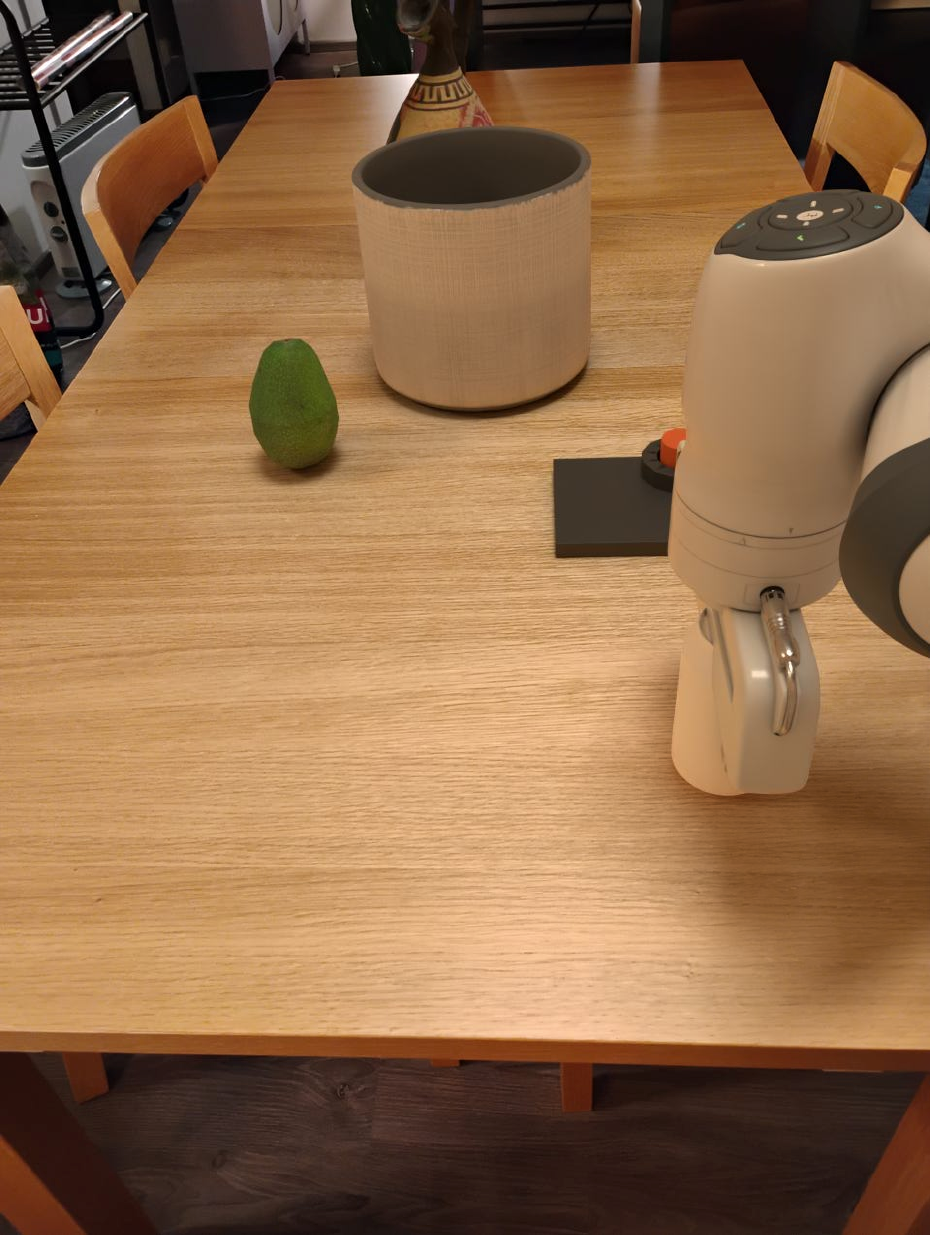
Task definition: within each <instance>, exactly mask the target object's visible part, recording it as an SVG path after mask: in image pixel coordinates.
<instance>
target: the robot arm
mask: <svg viewBox="0 0 930 1235" xmlns="http://www.w3.org/2000/svg"><path fill="white" fill-rule="evenodd" d="M680 402H681V404H680V405H681V412H682V416H683V420H684V424H685V429H686V440H682V441H680V442H679V444H678V449H677V459H676V468H675V473H674V485H673V494H672V506H671V518H670V529H669V540H668V555H667V557H668V561H669V565H670V566H671V569H672V571H673V572H674V573H675V575H676V577H677V578H678V579H679V580H680V582H682V584H684V585H685V586H686V587H687V588H688V589H690V590H691V591H692V592H694V595H695V600H696V606H697V612H698V615H699V614H700V612H701V611H702V610H703V609H704V608H705V607H706V615H707V620H708V625H709V631H710V636H711V641H712V644H713V647H714V648H713V656H712V689H713V695H714V701H715V706H716V712H717V717H718V723H719V728H720V734H721V739H722V747H721V754H722V761H723V766H724V770H725V772H726V773H728V779H729V782H730V785H731V786H732V788H734V789H735V790H737V791H741V792H746V793H745V794H760V795H775V794H776V795H777V794H778V795H781V794H792V793H796V792H798V791H801V790H802V789H803V788H805V786H806V784H807V782H808V779H809V775H810V771H811V765H812V761H813V754H814V749H815V744H816V738H817V731H818V725H819V719H820V718H819V717H820V709H821V679H820V672H819V667H818V663H817V659H816V655H815V652H814V649H813V646H812V642H811V639H810V635H809V632H808V629H807V625H806V622H805V618H804V615H803V612H802V608H804V607H806V606H809V605H812V604H814V603H816V602H818V601H820V600H821V599H823V598H824V597H826V596H827V595H829V594H830V593H831V592H832V591H834V589H835V588H836V587H837V586H838V584H839V583H840V582H841V579H842V583H843V585H844V587H845V590H846V591H847V593H848V595H849V597H850V598H851V600H852V601H853V603H854V604H855V605H856V607H857V608H858V609H859V610H860V612H861V613H862V614H863V615H864V616H865V617H866V618H868V620H869V621H870V622H872V623H873V625H875V626H876V627H878V628H879V629H880V630H881V631H882V632H884V634H886V635H887V636H888V637H890V638H892V639H893V640H894V641H895V642H897V643H899V644H900V645H901V646H903V647H905V648H907V649H908V650H910V651H912V652H914V653H916V654H919V655H920V656H922V657H925V658H928V659H930V232H929V231H928V230H927V229H926V228H924V227H923V226H922V225H921V224H920V223H919V221H917V219H916V218H915V217H914V216H913V214H912V213H911V212H910V211H909V209H907V207H906V206H904V205H903V203H901V202H900V201H898V200H896V199H895V198H892V197H889V196H887V195H884V194H880V193H874V192H867V191H860V190H859V189H847V188H846V189H843V188H841V189H840V188H839V189H823V190H815V191H810V192H805V193H800V194H799V193H798V194H794V195H789V196H786V197H783V198H780V199H777V200H776V201H774V202H772V203H768V204H766V205H763V206H761V207H758V208H756V209H754V210H752V211H750V212H748V213H747V214H745V215H744V216H743V217H742V218H740V219H739V220H738V221H736V222H735V223H734V224H733V225H732V226H730V228H729V229H727V231H726V232H725V233H723V235H721V237H720V238H719V239H718V240H717V242H716V243H715V245H714V246H713V248H712V249H711V251H710V253H709V255H708V256H707V259H706V261H705V264H704V266H703V269H702V273H701V276H700V278H699V282H698V286H697V290H696V294H695V298H694V303H693V307H692V313H691V318H690V323H689V329H688V336H687V343H686V349H685V357H684V368H683V374H682V386H681V398H680Z"/></svg>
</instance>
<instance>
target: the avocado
mask: <svg viewBox="0 0 930 1235" xmlns="http://www.w3.org/2000/svg"><path fill="white" fill-rule="evenodd" d="M250 389H251V390H250V394H249V400H248V409H249V414H250V420H251V426H252V431H253V434H254V436H255V438H256V440H257V442H258V444H259V446H260V448H261V449H262V450H263V452H264V453H265V455H266V457H267V458H268V459H270V460H271V461H273V462H274V463H275V464H277V465H279V466H281V467H284V468H287V469H293V470H294V469H295V470H303V469H305V468H308V467H311V466H313V465H315V464H318V463H320V462H321V461H323V460H324V459H325V458H326V457H327V456H328V455H329V454H330V452H331V451H332V450H333V447H334V444H335V442H336V438H337V435H338V430H339V424H340V423H339V422H340V415H339V409H338V402H337V397H336V395H335V392H334V390H333V388H332V385H331V384H330V381H329V378H328V376H327V374H326V372H325V370H324V368H323V365H322V363H321V361H320V358H319V356H318V354H317V353H316V351H315V350H314V349H313V347H312V346H311V345H310V344H309V343H308V342H306V341H305V340H303V339H302V338H286V339H285V338H284V339H283V338H282V339H278V340H273V341H272V342H271V343H270V344H269V345H268V346H267V347H265V349H264V350H263V352H262V354H261V355H260V358H259V362H258V365H257V368H256V371H255V373H254V376H253V380H252V383H251V388H250Z"/></svg>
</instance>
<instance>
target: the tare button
mask: <svg viewBox="0 0 930 1235" xmlns="http://www.w3.org/2000/svg"><path fill="white" fill-rule="evenodd" d="M660 439H661V450H660V461H661V463H662V464H663V465H665V466H669V467H672V468H676V459H677V449H678V444H679V442H680V441H682V440H686V428H672V429H669V430H667V431H665V432H664V433H662V436H661V437H660Z"/></svg>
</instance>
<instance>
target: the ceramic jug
mask: <svg viewBox="0 0 930 1235" xmlns="http://www.w3.org/2000/svg"><path fill="white" fill-rule="evenodd" d="M474 1H475V0H454V3H453V4H454V6H453V11H451V0H400V2H399V3H398V6H397V8H396V13H395V21H396V25H397V27H398V29H399V31H400V32H401V33H402V34H404V35H406V36H409V37H411V38H414V39H416V40H418V41H421V42H423V43H424V44H425V47H426V48H425V49H426V54H425V58H424V60H423V62H422V65H421V66H420V68H419V71H418V76H417V78H416V79H415V80H414V82H413V84H412V85H411V86H410V88H409V90H408V93H407V95H406V96H405V98H404V100H403V101H402V103H401V106H400V109H398V110H399V111H398V112H397V114H396V116H395V119H394V121H393V123H392V125H391V127H390V131H389V134H388V137H387V139H386V143H385V145H387V144H390V143H392V142H395V141H398V140H401V139H404V138H407V137H411V136H415V135H419V134H423V133H428V132H433V131H439V130H445V129H452V128H461V127H473V126H495V123H494V121H493V120H492V118H491V116H490V114H489V113H488V111H487V110H486V108H485V106H484V105H483V103H482V101H481V99H480V98H479V96H478V94H477V93H476V91H475V90H474V88H473V87H472V85H471V84H470V83H469V81H468V79H467V77H466V76H467V65H466V56H467V54H468V44H469V43H468V41H469V36H470V31H471V26H472V17H473V16H472V15H473V9H474V8H473V7H474Z"/></svg>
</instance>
